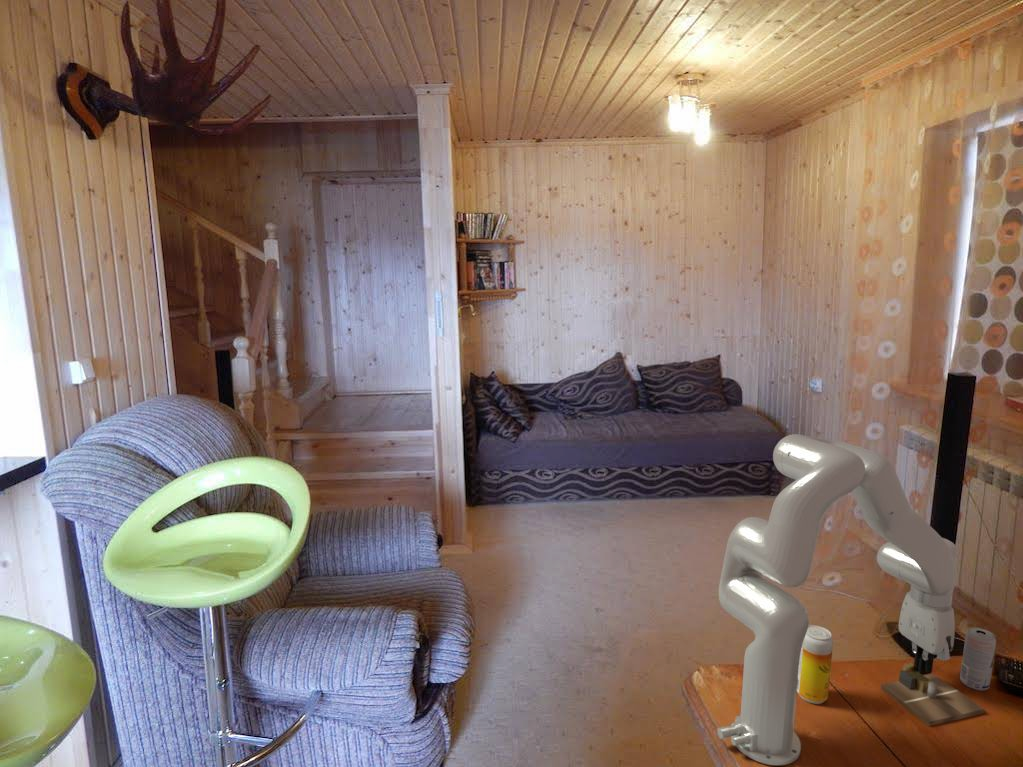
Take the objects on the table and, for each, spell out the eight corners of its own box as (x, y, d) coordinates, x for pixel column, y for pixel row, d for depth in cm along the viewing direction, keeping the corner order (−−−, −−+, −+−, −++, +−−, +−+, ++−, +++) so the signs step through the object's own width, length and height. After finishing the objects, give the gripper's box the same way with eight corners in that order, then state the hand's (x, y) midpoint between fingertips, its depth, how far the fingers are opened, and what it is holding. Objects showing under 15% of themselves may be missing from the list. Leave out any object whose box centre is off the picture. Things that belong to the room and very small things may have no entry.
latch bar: (929, 690, 140) (931, 676, 139) (922, 692, 139) (923, 678, 139) (909, 676, 145) (910, 662, 144) (901, 678, 144) (903, 664, 143)
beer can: (830, 707, 137) (837, 641, 134) (799, 703, 138) (805, 638, 135) (823, 688, 143) (829, 625, 140) (793, 685, 144) (798, 622, 141)
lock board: (928, 726, 131) (931, 708, 130) (881, 688, 142) (882, 672, 142) (983, 713, 135) (986, 695, 134) (932, 677, 146) (934, 661, 145)
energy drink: (988, 681, 145) (995, 631, 143) (990, 694, 140) (997, 643, 138) (959, 673, 148) (965, 624, 145) (959, 686, 143) (966, 636, 141)
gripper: (887, 580, 146) (880, 655, 149) (948, 616, 131) (938, 697, 135) (915, 575, 148) (907, 649, 151) (977, 610, 133) (967, 690, 137)
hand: (922, 671), depth 143 cm, fingers closed
